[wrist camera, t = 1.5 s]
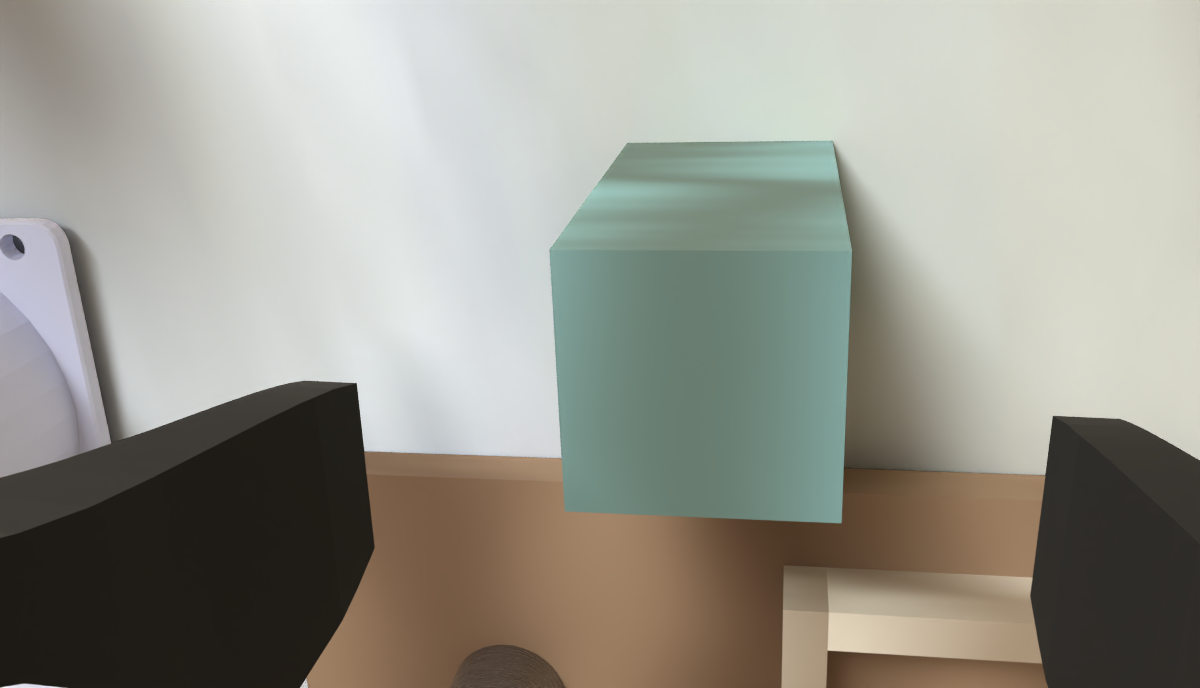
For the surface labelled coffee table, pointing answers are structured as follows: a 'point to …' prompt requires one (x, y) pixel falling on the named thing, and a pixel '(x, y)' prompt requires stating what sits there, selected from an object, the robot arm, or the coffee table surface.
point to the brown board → (692, 584)
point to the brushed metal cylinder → (505, 669)
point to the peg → (706, 334)
